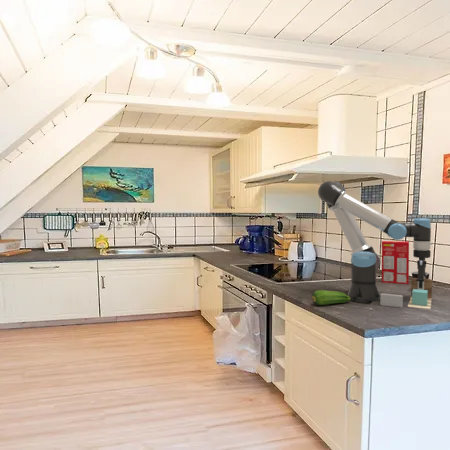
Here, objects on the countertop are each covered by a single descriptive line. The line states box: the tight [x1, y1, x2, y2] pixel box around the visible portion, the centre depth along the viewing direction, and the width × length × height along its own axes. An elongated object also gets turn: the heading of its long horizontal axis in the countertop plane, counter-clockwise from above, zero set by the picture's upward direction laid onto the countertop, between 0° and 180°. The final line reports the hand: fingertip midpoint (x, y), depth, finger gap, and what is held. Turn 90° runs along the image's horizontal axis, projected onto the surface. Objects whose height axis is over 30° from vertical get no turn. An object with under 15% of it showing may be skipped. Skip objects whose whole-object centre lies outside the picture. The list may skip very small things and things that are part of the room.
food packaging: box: [381, 240, 410, 285], centre depth 219 cm, size 15×5×25 cm, turn 65°
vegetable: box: [311, 289, 351, 307], centre depth 174 cm, size 7×7×20 cm
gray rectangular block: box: [380, 292, 404, 309], centre depth 158 cm, size 20×9×6 cm, turn 149°
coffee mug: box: [411, 270, 430, 279], centre depth 196 cm, size 12×9×10 cm
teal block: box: [412, 289, 428, 306], centre depth 168 cm, size 6×6×6 cm
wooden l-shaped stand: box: [407, 277, 433, 310], centre depth 171 cm, size 24×9×10 cm, turn 149°
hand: (421, 291), depth 180 cm, fingers open, 13 cm apart
